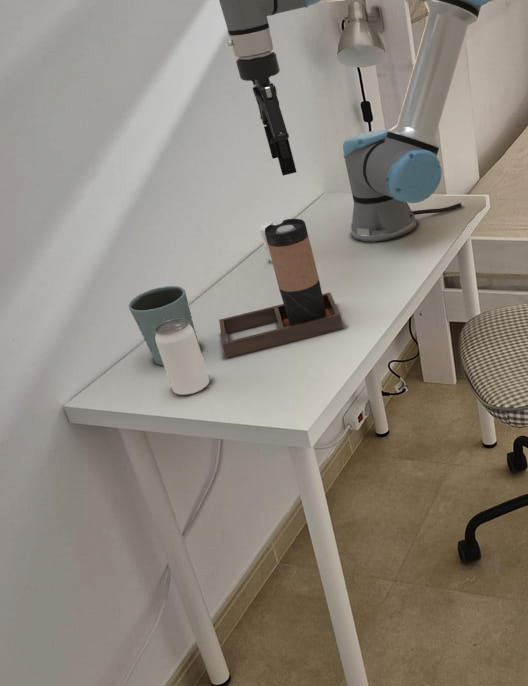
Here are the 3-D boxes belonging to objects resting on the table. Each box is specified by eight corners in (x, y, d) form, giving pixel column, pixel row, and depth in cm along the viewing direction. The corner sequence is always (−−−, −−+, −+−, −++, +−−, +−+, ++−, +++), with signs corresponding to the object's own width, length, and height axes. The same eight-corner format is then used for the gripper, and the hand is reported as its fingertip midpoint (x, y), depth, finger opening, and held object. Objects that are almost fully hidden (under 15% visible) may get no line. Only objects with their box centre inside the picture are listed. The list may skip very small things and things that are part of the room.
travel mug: (320, 332, 164) (296, 233, 154) (283, 333, 166) (257, 235, 156) (334, 313, 170) (311, 217, 160) (297, 314, 172) (273, 219, 162)
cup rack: (223, 333, 170) (219, 319, 168) (333, 305, 174) (330, 292, 172) (226, 358, 160) (222, 344, 158) (343, 328, 164) (340, 314, 163)
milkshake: (273, 267, 196) (262, 225, 191) (265, 260, 200) (254, 219, 196) (292, 260, 198) (281, 219, 193) (283, 254, 202) (273, 213, 197)
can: (206, 393, 150) (186, 331, 144) (169, 398, 150) (147, 337, 144) (213, 374, 155) (194, 314, 149) (177, 379, 155) (157, 320, 149)
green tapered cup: (213, 350, 164) (194, 292, 158) (164, 374, 158) (144, 315, 152) (186, 336, 170) (168, 281, 164) (139, 359, 165) (118, 302, 159)
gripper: (228, 50, 172) (257, 154, 182) (243, 69, 151) (274, 186, 162) (265, 42, 173) (292, 146, 184) (285, 60, 153) (313, 176, 163)
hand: (284, 165), depth 173 cm, fingers open, 13 cm apart
